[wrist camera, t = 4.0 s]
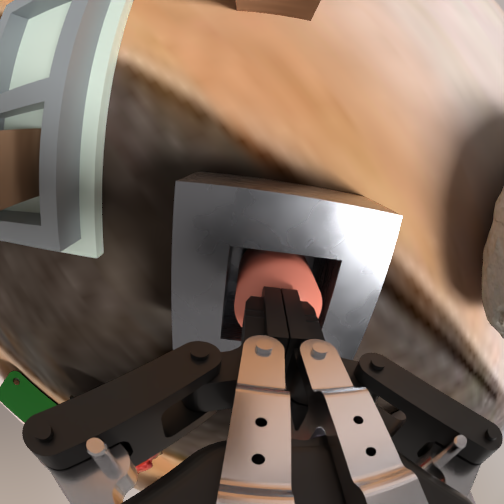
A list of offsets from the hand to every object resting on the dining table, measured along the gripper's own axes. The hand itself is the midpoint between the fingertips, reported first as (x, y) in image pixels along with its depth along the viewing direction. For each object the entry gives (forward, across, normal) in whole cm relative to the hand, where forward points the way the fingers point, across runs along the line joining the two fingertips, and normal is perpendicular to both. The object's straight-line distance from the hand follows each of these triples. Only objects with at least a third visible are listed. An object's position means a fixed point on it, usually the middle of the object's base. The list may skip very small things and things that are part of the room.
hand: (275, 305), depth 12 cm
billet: (+4, +18, -5) cm, 19 cm away
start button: (+4, 0, 0) cm, 4 cm away
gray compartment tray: (+6, +18, -10) cm, 21 cm away
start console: (+5, 0, 0) cm, 5 cm away
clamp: (+6, +28, +26) cm, 38 cm away
